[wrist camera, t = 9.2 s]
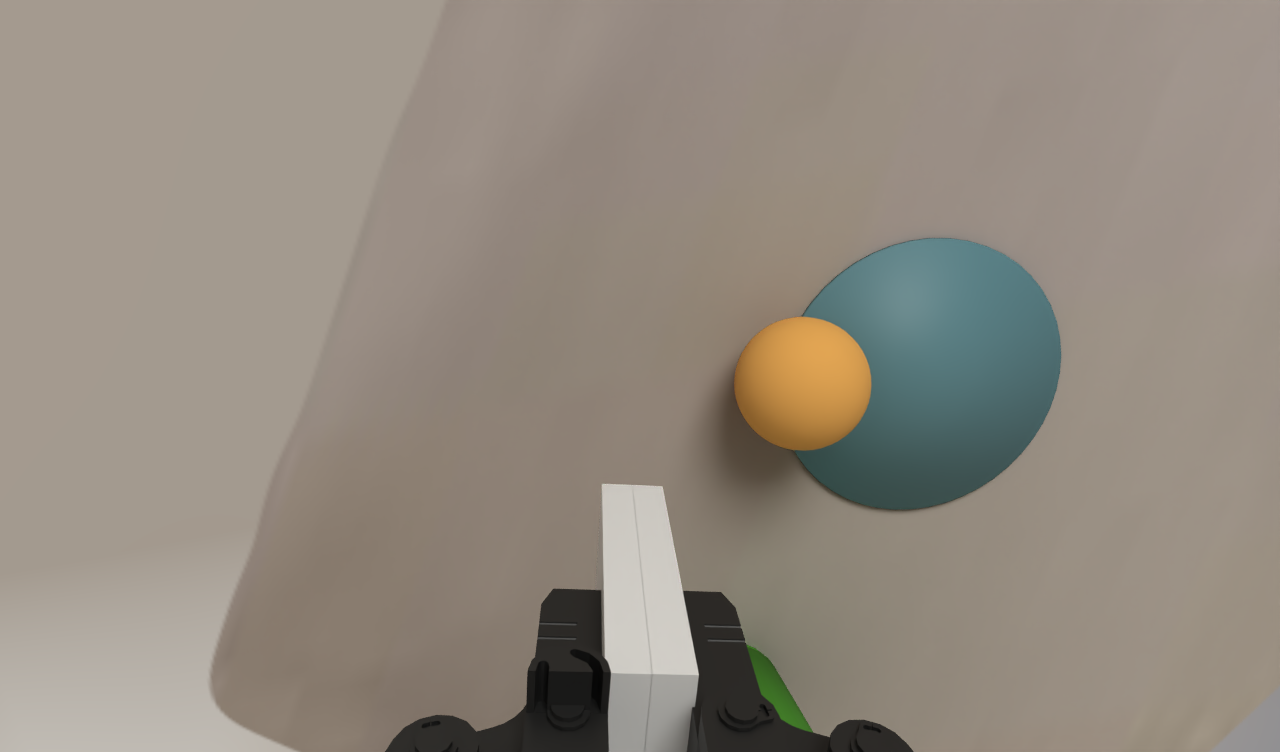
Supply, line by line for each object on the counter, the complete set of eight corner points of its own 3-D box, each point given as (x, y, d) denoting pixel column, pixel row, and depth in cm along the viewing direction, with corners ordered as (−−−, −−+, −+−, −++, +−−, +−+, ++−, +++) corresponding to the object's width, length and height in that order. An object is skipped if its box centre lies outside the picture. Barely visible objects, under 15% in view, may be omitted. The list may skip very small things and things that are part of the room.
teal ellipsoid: (1091, 248, 31) (1094, 249, 31) (1019, 512, 35) (1022, 514, 35) (801, 227, 30) (802, 228, 30) (761, 502, 34) (762, 504, 34)
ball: (711, 326, 28) (760, 307, 32) (715, 459, 29) (761, 423, 33) (854, 330, 25) (885, 309, 30) (852, 478, 26) (882, 435, 31)
